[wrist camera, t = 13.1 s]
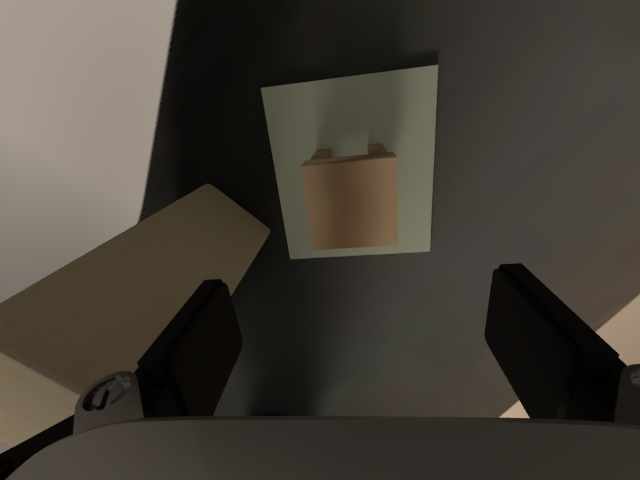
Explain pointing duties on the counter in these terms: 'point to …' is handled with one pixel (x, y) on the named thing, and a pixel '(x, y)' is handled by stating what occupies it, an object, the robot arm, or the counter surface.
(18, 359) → the beige block
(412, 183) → the sage mat
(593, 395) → the robot arm
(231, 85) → the counter surface
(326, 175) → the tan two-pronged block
